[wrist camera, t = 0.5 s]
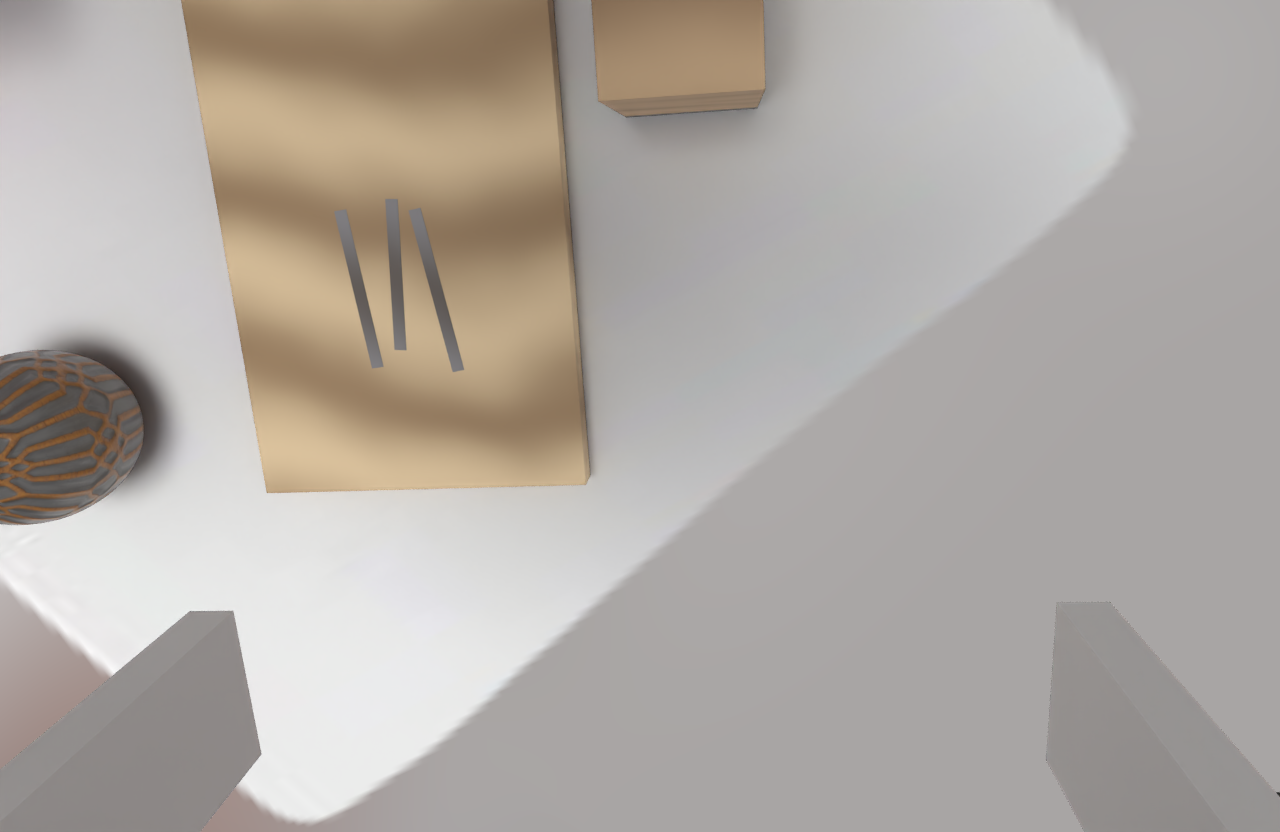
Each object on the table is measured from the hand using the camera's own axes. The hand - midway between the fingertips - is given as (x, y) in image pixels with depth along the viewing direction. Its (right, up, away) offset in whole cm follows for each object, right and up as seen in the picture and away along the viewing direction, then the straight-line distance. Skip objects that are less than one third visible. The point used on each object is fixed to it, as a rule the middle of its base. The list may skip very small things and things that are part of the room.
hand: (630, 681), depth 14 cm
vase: (-24, +4, +26) cm, 36 cm away
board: (-10, +13, +22) cm, 27 cm away
